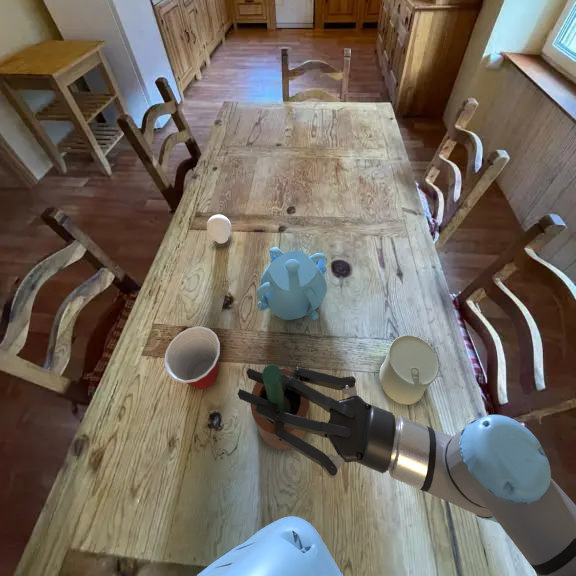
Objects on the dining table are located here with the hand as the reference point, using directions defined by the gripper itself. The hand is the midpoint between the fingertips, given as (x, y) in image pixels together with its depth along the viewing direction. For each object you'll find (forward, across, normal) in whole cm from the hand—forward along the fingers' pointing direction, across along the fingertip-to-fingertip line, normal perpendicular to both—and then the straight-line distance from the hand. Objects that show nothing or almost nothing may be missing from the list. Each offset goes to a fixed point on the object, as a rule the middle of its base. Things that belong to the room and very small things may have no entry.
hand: (244, 383), depth 55 cm
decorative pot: (+2, +27, -18) cm, 33 cm away
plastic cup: (+14, +3, -19) cm, 23 cm away
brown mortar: (-5, +1, -18) cm, 19 cm away
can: (-26, +16, -18) cm, 36 cm away
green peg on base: (-5, 0, -12) cm, 13 cm away
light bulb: (+27, +36, -18) cm, 48 cm away
